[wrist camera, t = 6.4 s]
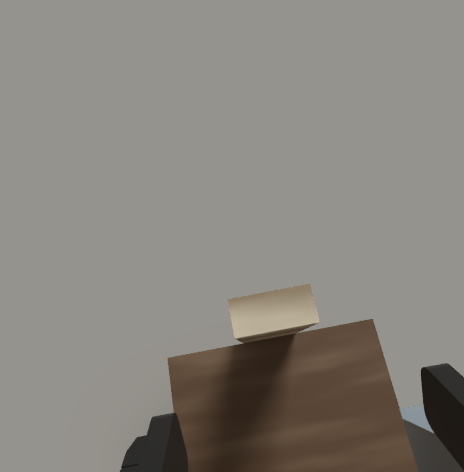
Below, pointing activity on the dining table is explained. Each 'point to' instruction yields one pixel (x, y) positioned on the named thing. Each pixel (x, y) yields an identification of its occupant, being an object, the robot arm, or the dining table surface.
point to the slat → (273, 313)
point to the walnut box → (292, 405)
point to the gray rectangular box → (426, 443)
